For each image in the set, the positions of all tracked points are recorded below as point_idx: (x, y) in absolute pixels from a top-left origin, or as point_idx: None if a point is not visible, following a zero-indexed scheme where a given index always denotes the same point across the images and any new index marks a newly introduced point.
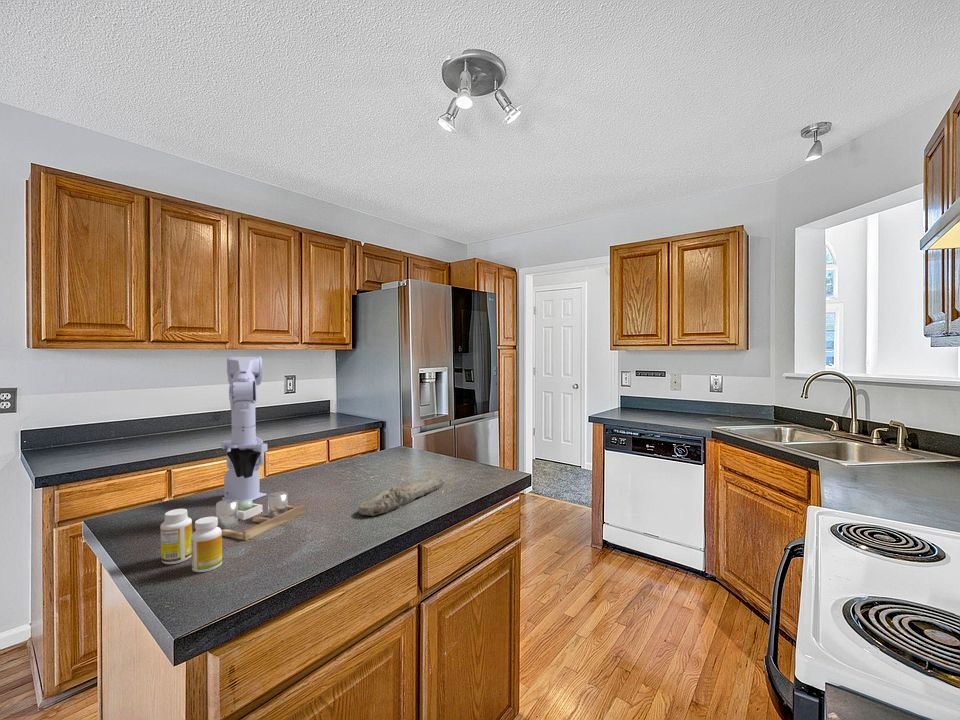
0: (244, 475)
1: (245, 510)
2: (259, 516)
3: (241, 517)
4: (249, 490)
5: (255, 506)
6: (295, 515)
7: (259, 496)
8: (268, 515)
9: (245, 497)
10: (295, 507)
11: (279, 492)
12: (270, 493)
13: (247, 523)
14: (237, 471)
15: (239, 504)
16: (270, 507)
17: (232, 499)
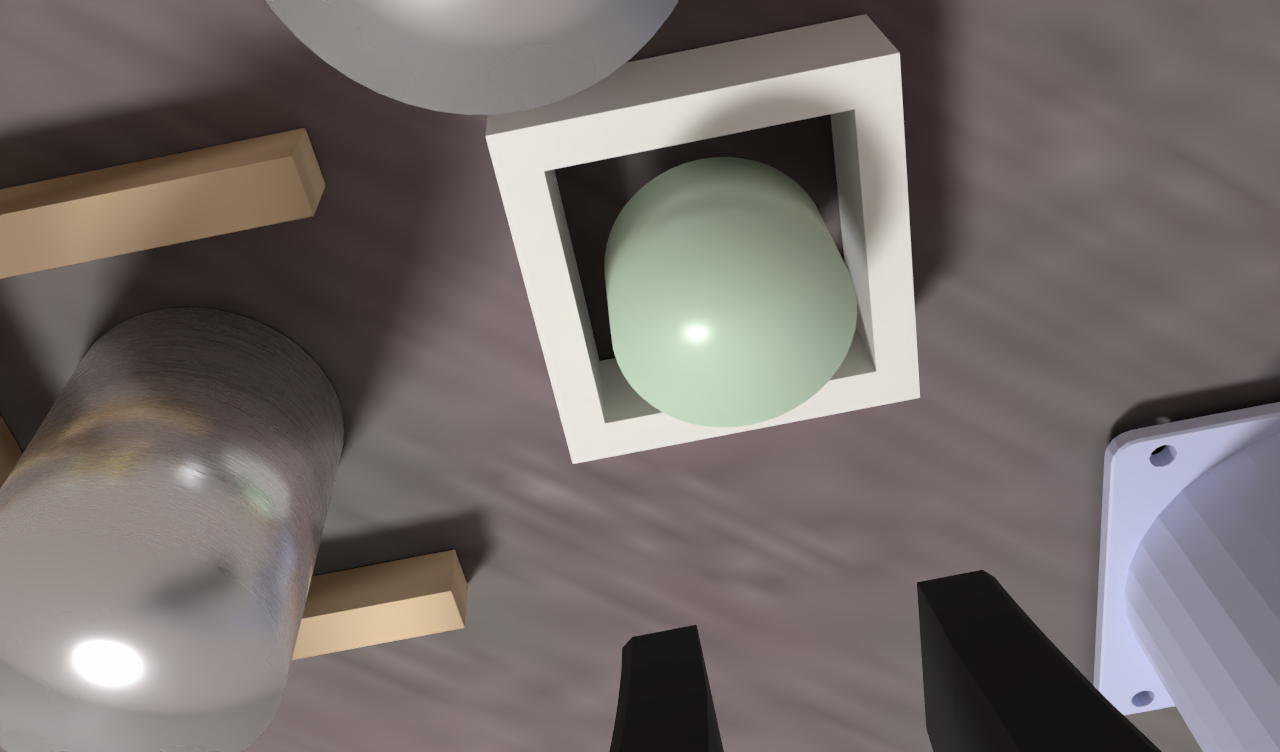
0: (662, 680)
1: (616, 222)
2: (223, 229)
3: None
4: (1208, 619)
5: None
6: None
7: (1102, 633)
8: (214, 338)
9: (1199, 512)
10: None
11: (199, 721)
12: (265, 627)
13: (298, 44)
14: (984, 701)
15: (708, 211)
16: (101, 416)
17: (552, 55)
